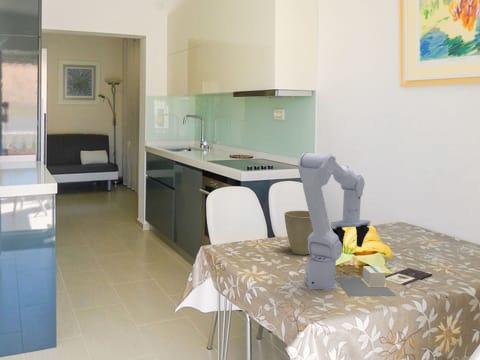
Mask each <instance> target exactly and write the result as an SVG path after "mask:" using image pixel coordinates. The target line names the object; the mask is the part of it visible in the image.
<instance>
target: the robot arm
mask: <svg viewBox="0 0 480 360" xmlns="http://www.w3.org/2000/svg"><path fill="white" fill-rule="evenodd" d="M336 159H337V158H336V156H334V155H333V154H332V153H328V154H324V153H314V152H313V153H310V152H303V153H302V154H301V156H300V157H299V160H298V163H297V167H298V168H297V169H298V174H299V176H300V177H299V178H300V181H301V182H302V186H303V193H304V197H305V198H304V199H305V201H306V205H307V206H306V207H307V209H308V210H307V211H309V215H310V219H311V224H312V228H313V232H312V233H311V234H310V235H309V237H308V251H309V253H310V254H309V255H311V256H310V257H311V258H307V259H306V260H305V268H304V269H305V271H304V282H305V284H306V285H307V287H308V289H310V290H319V289H320V290H326V289H327V290H330V289H331V290H332V289H335V290H336V289H339V288H340V286H339V285H337V283H336V281H335V278H336V269H337V268H336V265H337V260H338V259H340V258H341V256H342V253H343V249H344V238H345V235H346V234H345V233H346V230H344V228H355V232H356V247H358V248H362V247H363V243H364V240H365V238H366V236H367V234H368V233H369V231H370V226H371V220H369V219H360V216H361V199H362V196H363V192H364V188H365V184H366V183H365V179H364V178H365V177H363V176H362V175H361V174H356V173H355V172H354V170H351V169H350V168H349V165H340V164H339V163H338V162H337V160H336ZM332 175H333V179H334V181H335V182H336V183H338V184H339V185H340V188H341V190H343V204H342V220H338V221H337V220H336V221H331V222H330V221H329V217H328V212H327V208H326V203H325V198H324V193H323V189H322V188H323V187H324V186H325V185H327V184H328V183H329V182H330V181H329V180H330V178H331V176H332Z"/></svg>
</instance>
